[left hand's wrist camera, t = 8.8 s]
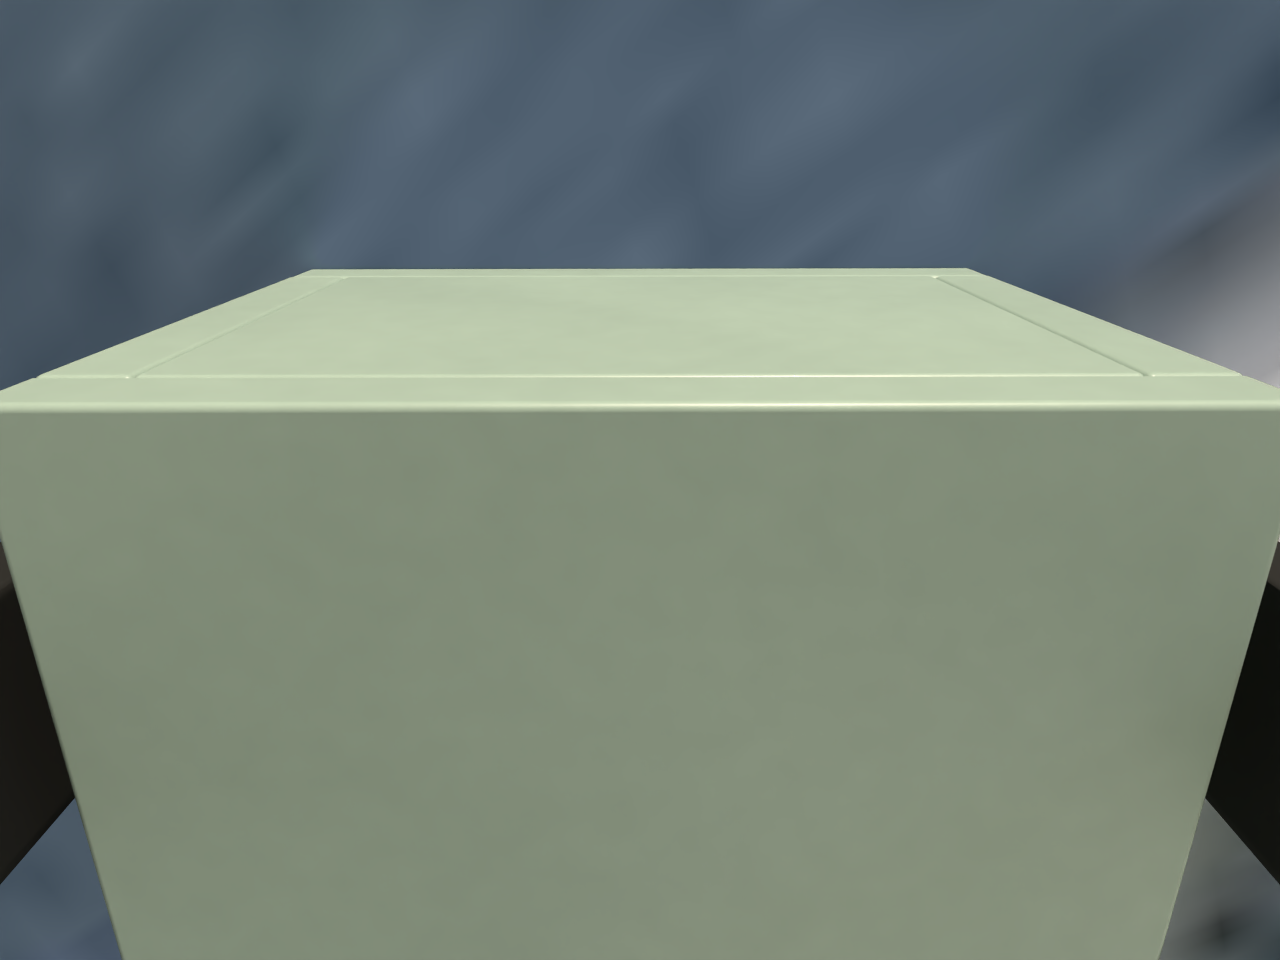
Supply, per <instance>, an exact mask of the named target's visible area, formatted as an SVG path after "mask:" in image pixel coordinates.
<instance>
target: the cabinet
mask: <svg viewBox="0 0 1280 960" xmlns="http://www.w3.org/2000/svg"><path fill="white" fill-rule="evenodd" d="M1279 535H1280V389H1279V388H1276V387H1273V386H1271V385H1268V384H1266V383H1263V382H1261V381H1258V380H1255V379H1253V378H1250V377H1248V376H1242V374H1240V373H1238V372H1235V371H1233V370H1230V369H1227V368H1225V367H1222V366H1220V365H1217V364H1215V363H1212V362H1209V361H1207V360H1204V359H1202V358H1199V357H1196V356H1194V355H1191V354H1189V353H1186V352H1183V351H1181V350H1178V349H1176V348H1173V347H1171V346H1168V345H1165V344H1163V343H1160V342H1158V341H1155V340H1152V339H1150V338H1147V337H1145V336H1142V335H1140V334H1137V333H1134V332H1132V331H1129V330H1127V329H1124V328H1121V327H1119V326H1116V325H1114V324H1111V323H1108V322H1106V321H1103V320H1101V319H1098V318H1096V317H1093V316H1090V315H1088V314H1085V313H1083V312H1080V311H1077V310H1075V309H1072V308H1070V307H1067V306H1064V305H1062V304H1059V303H1057V302H1054V301H1052V300H1049V299H1046V298H1044V297H1041V296H1039V295H1036V294H1033V293H1031V292H1028V291H1026V290H1023V289H1021V288H1018V287H1015V286H1013V285H1010V284H1008V283H1005V282H1002V281H1000V280H997V279H995V278H992V277H989V276H985V275H983V274H981V273H978V272H975V271H973V270H970V269H968V268H879V269H363V270H310V271H307V272H305V273H302V274H300V275H297V276H295V277H291V278H288V279H285V280H283V281H280V282H278V283H275V284H273V285H270V286H268V287H265V288H262V289H260V290H257V291H255V292H252V293H250V294H247V295H244V296H242V297H239V298H237V299H234V300H232V301H229V302H226V303H224V304H221V305H219V306H216V307H214V308H211V309H208V310H206V311H203V312H201V313H198V314H196V315H193V316H191V317H188V318H185V319H183V320H180V321H178V322H175V323H173V324H170V325H167V326H165V327H162V328H160V329H157V330H155V331H152V332H149V333H147V334H144V335H142V336H139V337H137V338H134V339H131V340H129V341H126V342H124V343H121V344H119V345H116V346H114V347H111V348H108V349H106V350H103V351H101V352H98V353H96V354H93V355H90V356H88V357H85V358H83V359H80V360H78V361H75V362H72V363H70V364H67V365H65V366H62V367H60V368H57V369H54V370H52V371H49V372H47V373H44V374H42V375H40V376H38V377H37V378H32V379H30V380H27V381H25V382H22V383H19V384H17V385H14V386H12V387H9V388H7V389H4V390H1V391H0V539H1V542H2V546H3V549H4V553H5V556H6V560H7V563H8V566H9V570H10V573H11V577H12V580H13V584H14V587H15V591H16V594H17V598H18V601H19V605H20V608H21V611H22V615H23V618H24V622H25V625H26V629H27V632H28V636H29V639H30V643H31V646H32V650H33V653H34V657H35V660H36V663H37V667H38V670H39V674H40V677H41V681H42V684H43V688H44V691H45V695H46V698H47V702H48V705H49V708H50V712H51V715H52V719H53V722H54V726H55V729H56V733H57V736H58V740H59V743H60V747H61V750H62V754H63V757H64V760H65V764H66V767H67V771H68V774H69V778H70V781H71V785H72V788H73V792H74V795H75V799H76V802H77V805H78V809H79V812H80V816H81V819H82V823H83V826H84V830H85V833H86V837H87V840H88V844H89V847H90V851H91V854H92V857H93V861H94V864H95V868H96V871H97V875H98V878H99V882H100V885H101V889H102V892H103V896H104V899H105V902H106V906H107V909H108V913H109V916H110V920H111V923H112V927H113V930H114V934H115V937H116V941H117V944H118V947H119V951H120V954H121V958H122V960H1159V958H1160V954H1161V951H1162V947H1163V944H1164V940H1165V937H1166V933H1167V930H1168V926H1169V923H1170V919H1171V916H1172V912H1173V909H1174V905H1175V902H1176V898H1177V895H1178V891H1179V887H1180V884H1181V880H1182V877H1183V873H1184V870H1185V866H1186V863H1187V859H1188V856H1189V852H1190V849H1191V845H1192V842H1193V838H1194V835H1195V831H1196V828H1197V824H1198V821H1199V817H1200V814H1201V810H1202V807H1203V803H1204V799H1205V796H1206V792H1207V789H1208V785H1209V782H1210V778H1211V775H1212V771H1213V768H1214V764H1215V761H1216V757H1217V754H1218V750H1219V747H1220V743H1221V740H1222V736H1223V733H1224V729H1225V726H1226V722H1227V719H1228V715H1229V711H1230V708H1231V704H1232V701H1233V697H1234V694H1235V690H1236V687H1237V683H1238V680H1239V676H1240V673H1241V669H1242V666H1243V662H1244V659H1245V655H1246V652H1247V648H1248V645H1249V641H1250V638H1251V634H1252V631H1253V627H1254V623H1255V620H1256V616H1257V613H1258V609H1259V606H1260V602H1261V599H1262V595H1263V592H1264V588H1265V585H1266V581H1267V578H1268V574H1269V571H1270V567H1271V564H1272V560H1273V557H1274V553H1275V550H1276V546H1277V543H1278V539H1279Z"/></svg>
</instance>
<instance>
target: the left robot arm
mask: <svg viewBox="0 0 1280 960" xmlns="http://www.w3.org/2000/svg"><path fill="white" fill-rule="evenodd" d="M74 798H75V795H74V792H73V788H72V785H71V781H70V778H69V774H68V771H67V767H66V764H65V760H64V757H63V754H62V750H61V747H60V743H59V740H58V736H57V733H56V729H55V726H54V722H53V719H52V715H51V712H50V708H49V705H48V702H47V698H46V695H45V691H44V688H43V684H42V681H41V677H40V674H39V670H38V667H37V663H36V660H35V657H34V653H33V650H32V646H31V643H30V639H29V636H28V632H27V629H26V625H25V622H24V618H23V615H22V611H21V608H20V605H19V601H18V598H17V594H16V591H15V587H14V584H13V580H12V577H11V573H10V570H9V566H8V563H7V560H6V556H5V553H4V549H3V546H2V542H0V884H1V883H2V882H3V881H4V880H5V878H6V877H7V876H8V875H9V874H10V873H11V871H12V870H13V869H14V868H15V867H16V866H17V864H18V863H19V862H20V861H21V860H22V859H23V857H24V856H25V855H26V854H27V853H28V852H29V850H30V849H31V848H32V847H33V846H34V845H35V843H36V842H37V841H38V840H39V839H40V838H41V836H42V835H43V834H44V833H45V832H46V831H47V830H48V828H49V827H50V826H51V825H52V824H53V823H54V821H55V820H56V819H57V818H58V817H59V816H60V814H61V813H62V812H63V811H64V810H65V809H66V807H67V806H68V805H69V804H70V803H71V802H72V800H73V799H74ZM1205 798H1206V799H1207V800H1208V802H1209V803H1210V804H1211V805H1212V806H1213V807H1214V809H1215V810H1216V811H1217V812H1218V813H1219V814H1220V816H1221V817H1222V818H1223V819H1224V820H1225V821H1226V823H1227V824H1228V825H1229V826H1230V827H1231V828H1232V829H1233V831H1234V832H1235V833H1236V834H1237V835H1238V836H1239V838H1240V839H1241V840H1242V841H1243V842H1244V843H1245V845H1246V846H1247V847H1248V848H1249V849H1250V850H1251V852H1252V853H1253V854H1254V855H1255V856H1256V857H1257V859H1258V860H1259V861H1260V862H1261V863H1262V864H1263V866H1264V867H1265V868H1266V869H1267V870H1268V871H1269V873H1270V874H1271V875H1272V876H1273V877H1274V878H1275V880H1276V881H1277V882H1278V883H1279V884H1280V542H1278V543H1277V546H1276V550H1275V553H1274V557H1273V560H1272V564H1271V567H1270V571H1269V574H1268V578H1267V581H1266V585H1265V588H1264V592H1263V595H1262V599H1261V602H1260V606H1259V609H1258V613H1257V616H1256V620H1255V623H1254V627H1253V631H1252V634H1251V638H1250V641H1249V645H1248V648H1247V652H1246V655H1245V659H1244V662H1243V666H1242V669H1241V673H1240V676H1239V680H1238V683H1237V687H1236V690H1235V694H1234V697H1233V701H1232V704H1231V708H1230V711H1229V715H1228V719H1227V722H1226V726H1225V729H1224V733H1223V736H1222V740H1221V743H1220V747H1219V750H1218V754H1217V757H1216V761H1215V764H1214V768H1213V771H1212V775H1211V778H1210V782H1209V785H1208V789H1207V792H1206V796H1205Z"/></svg>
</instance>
